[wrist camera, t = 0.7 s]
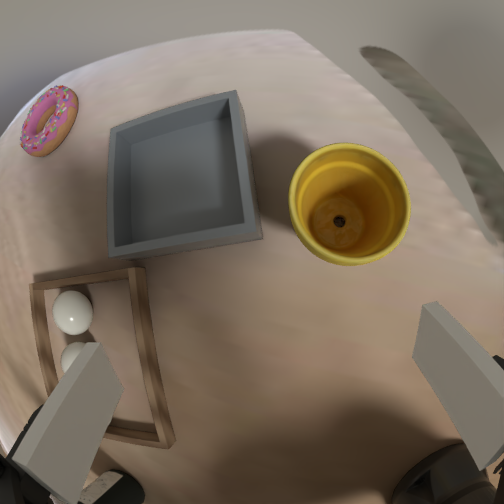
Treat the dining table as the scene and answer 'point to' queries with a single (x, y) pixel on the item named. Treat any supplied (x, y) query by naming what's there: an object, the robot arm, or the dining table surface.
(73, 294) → the off-white glossy ball
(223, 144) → the grey shallow box
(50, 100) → the donut
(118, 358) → the dining table surface
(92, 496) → the wine bottle
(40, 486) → the robot arm
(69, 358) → the pebble
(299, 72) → the dining table surface
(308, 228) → the plant pot
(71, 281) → the tray
